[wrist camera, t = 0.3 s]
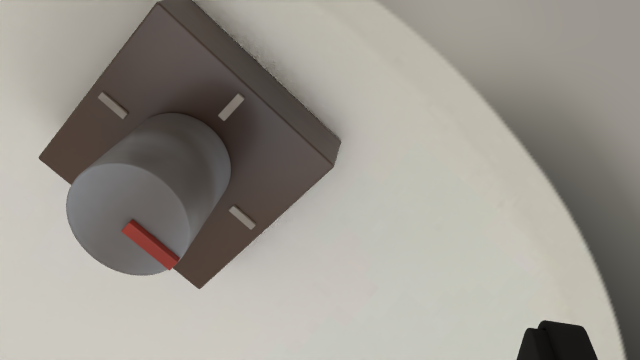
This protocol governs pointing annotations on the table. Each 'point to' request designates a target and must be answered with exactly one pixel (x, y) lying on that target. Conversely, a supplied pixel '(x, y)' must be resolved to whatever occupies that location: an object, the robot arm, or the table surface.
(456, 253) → the table surface
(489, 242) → the table surface
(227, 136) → the panel
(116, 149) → the dial
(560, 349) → the robot arm
